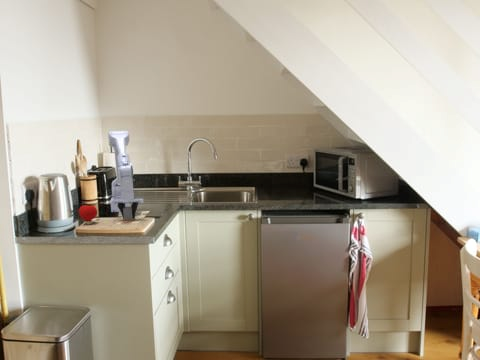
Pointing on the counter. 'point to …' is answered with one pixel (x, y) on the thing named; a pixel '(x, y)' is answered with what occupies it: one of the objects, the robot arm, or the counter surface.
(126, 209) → the plug
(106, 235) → the counter surface
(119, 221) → the socket board
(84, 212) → the red heart ornament
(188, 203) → the counter surface
